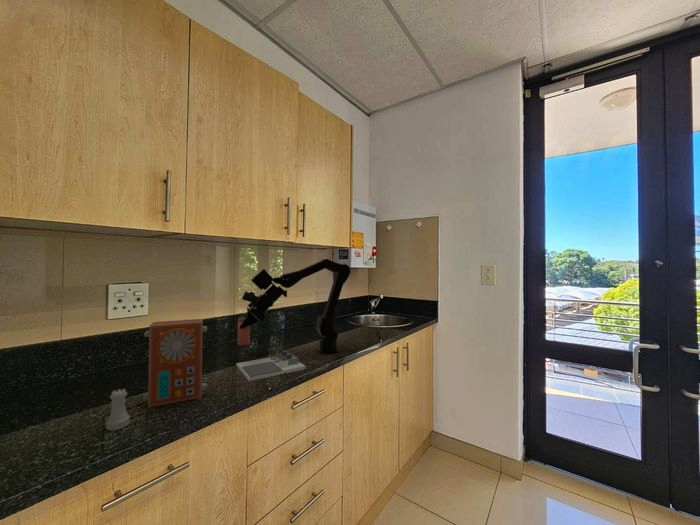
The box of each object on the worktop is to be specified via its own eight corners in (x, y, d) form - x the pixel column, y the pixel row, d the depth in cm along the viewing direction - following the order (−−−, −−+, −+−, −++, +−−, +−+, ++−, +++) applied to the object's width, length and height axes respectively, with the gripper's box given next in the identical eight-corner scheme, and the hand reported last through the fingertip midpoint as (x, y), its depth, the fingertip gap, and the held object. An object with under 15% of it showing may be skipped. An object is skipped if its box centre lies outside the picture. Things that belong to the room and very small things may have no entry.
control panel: (206, 398, 81) (141, 410, 74) (206, 388, 87) (146, 399, 80) (207, 321, 81) (143, 326, 74) (207, 317, 88) (147, 321, 81)
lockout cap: (247, 341, 116) (247, 316, 117) (251, 344, 113) (251, 318, 113) (236, 343, 114) (236, 318, 114) (239, 345, 110) (239, 319, 110)
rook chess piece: (100, 429, 65) (101, 393, 65) (122, 419, 69) (123, 386, 69) (113, 433, 63) (114, 396, 64) (134, 423, 68) (135, 388, 68)
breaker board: (287, 357, 118) (287, 346, 118) (305, 369, 104) (305, 356, 104) (236, 366, 107) (236, 354, 107) (248, 381, 93) (248, 366, 93)
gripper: (253, 283, 124) (225, 310, 120) (256, 285, 107) (223, 317, 102) (272, 300, 127) (245, 327, 122) (277, 305, 109) (246, 337, 105)
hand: (240, 327), depth 113 cm, fingers closed on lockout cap, 4 cm apart
